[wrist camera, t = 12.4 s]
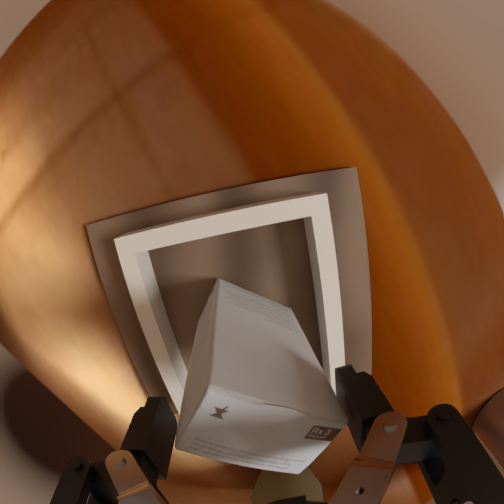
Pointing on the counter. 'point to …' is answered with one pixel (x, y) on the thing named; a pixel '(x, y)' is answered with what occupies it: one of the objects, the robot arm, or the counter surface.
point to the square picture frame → (220, 222)
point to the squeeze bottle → (286, 486)
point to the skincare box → (255, 387)
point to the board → (243, 267)
